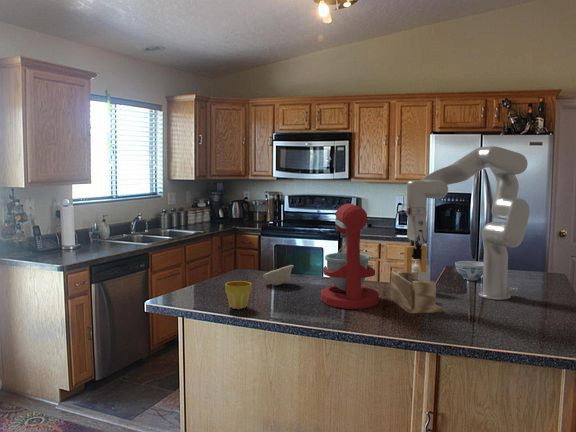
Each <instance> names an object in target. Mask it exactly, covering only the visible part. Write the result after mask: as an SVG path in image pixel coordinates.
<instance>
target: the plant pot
mask: <svg viewBox="0 0 576 432" xmlns="http://www.w3.org/2000/svg"><path fill="white" fill-rule="evenodd" d="M252 285H253V284H252V282H250V281H243V280H234V281H228V282H225V284H224V289H225V290H224V291H225V293H226V296H227V301H228V305H229V308H230V307H232V308H244V307H246V306H247V307H248V304H249V298H250V295H251V293H252V289H253V288H252Z"/></svg>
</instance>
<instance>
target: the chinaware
mask: <svg viewBox="0 0 576 432" xmlns="http://www.w3.org/2000/svg"><path fill="white" fill-rule="evenodd" d="M483 262H484V261H476V260H459V261H455V262H454V265H455V268H456V271H457V272H458V274H459V275H461V277H462V278H463V280H465V279H466V280H465V281H478V280H479V278H480V277H483Z"/></svg>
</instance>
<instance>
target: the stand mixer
mask: <svg viewBox="0 0 576 432" xmlns="http://www.w3.org/2000/svg"><path fill="white" fill-rule="evenodd" d="M334 216H335V222H334V223H335V230H336V231H337V232H339V233H340V234H344V236H345V237H343V238H342V240H343V241H344V242H343V244H342V245H341V247H340V248H339V250H338V251H337V252H335V253H332V252H331V253H329V254H326V255H325V256H324V259H325V261H326V265H325V266H324V267H322V272H323V275H325V276H327V277H329V279H330V280H329V281H331V283H332V284H333V285H329V286H326V287H323V288H322V290H321V291H320V300H321V302H322V301H323V302H322V303H324V304H325V305H328V306H330V307H333V308H339V309H344V310H362V309H368V308H373V307H375V306H376V305H378V304H379V302H380V296H379V295H380V294H379V292H378V291H377V290H375V289H374V288H371V287H368V286H363V285H362V284H363V283H364V282H365V280H366V278H370V277H374V276H376V270H375V268H373V267H372V266H370V265H369V264H368V263H369V261H370V259H371V258H370V256H371V255H368V254H365V253H361V248H360V247H361V246H360V245H361V231H362V229H367V228H372V227H373V224H372V223H367V222H368V214H367V212H366V210H365V209H364V208H362V207H361V206H359V205H356V204H354V203H345V204H342V205H340V207H338V208H337V210H336V212H334ZM340 292H346V293H340Z"/></svg>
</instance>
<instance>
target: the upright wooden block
mask: <svg viewBox="0 0 576 432" xmlns="http://www.w3.org/2000/svg"><path fill="white" fill-rule="evenodd" d="M413 249H414V246H410V245H404V249H403V250H404V253H403V255H404V256H403V271H405V272H412V265H413V264H412V263H413V261H412V260H413V257H412V255H413ZM427 252H428V247H427V246H426V245H422V254H421V259H419V269H418V271H420V272H426V261H427V259H428V258H427V255H428V253H427Z"/></svg>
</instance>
